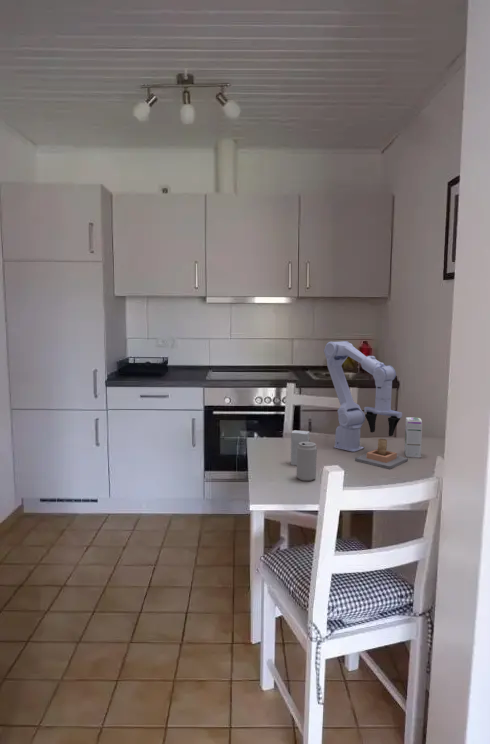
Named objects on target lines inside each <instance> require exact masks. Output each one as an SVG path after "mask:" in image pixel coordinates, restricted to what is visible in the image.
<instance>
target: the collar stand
mask: <svg viewBox="0 0 490 744" xmlns="http://www.w3.org/2000/svg"><path fill="white" fill-rule="evenodd" d="M377 450H378V448H376V449H373V450H370V451H368V452H366V453H364V454H362V455H359V456H357V457H355V458H354V461H355V462H359V463H363V464H366V465H371V466H375V467H378V468H383V469H388V470H392V469H393V468H396V467H398V466H399V465H402V464H403V463H407V462H408V459H409V457H406V456H405V457H403V456H400V455H398V452H394V451H389V450H386V456H382V455H378V454H377Z"/></svg>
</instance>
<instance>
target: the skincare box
mask: <svg viewBox="0 0 490 744" xmlns="http://www.w3.org/2000/svg"><path fill="white" fill-rule="evenodd" d="M310 433H311V432H310V430H309V431H308V430H307V431H306V430H296V429H295V430H292V432H291V433H290V442H291V443H290V465H291V466H297V447H298V445H299V443H300V442H310V435H311V434H310Z"/></svg>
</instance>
